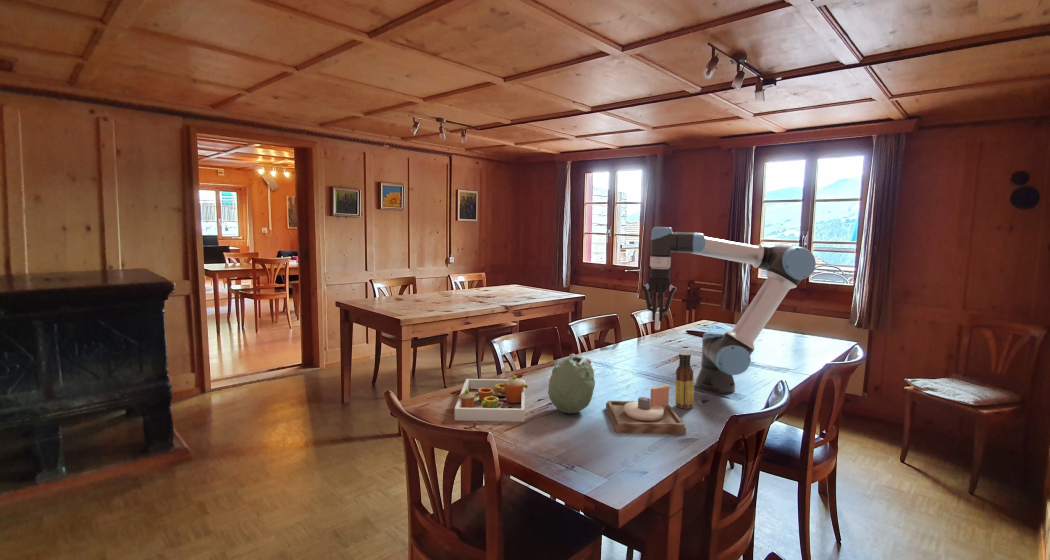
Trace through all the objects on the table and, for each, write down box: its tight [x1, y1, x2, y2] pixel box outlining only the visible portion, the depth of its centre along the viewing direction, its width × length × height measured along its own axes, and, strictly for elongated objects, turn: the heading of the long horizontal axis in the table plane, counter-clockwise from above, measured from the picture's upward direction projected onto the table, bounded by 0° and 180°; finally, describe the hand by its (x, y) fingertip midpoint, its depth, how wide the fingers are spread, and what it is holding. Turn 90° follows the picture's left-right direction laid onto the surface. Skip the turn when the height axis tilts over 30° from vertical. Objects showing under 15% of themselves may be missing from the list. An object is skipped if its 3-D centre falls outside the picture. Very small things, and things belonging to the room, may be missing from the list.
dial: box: [624, 385, 670, 421], centre depth 173 cm, size 18×13×8 cm
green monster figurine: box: [547, 353, 596, 414], centre depth 179 cm, size 16×19×20 cm
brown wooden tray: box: [605, 400, 687, 435], centre depth 173 cm, size 22×22×3 cm
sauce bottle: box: [675, 352, 695, 410], centre depth 186 cm, size 7×6×20 cm
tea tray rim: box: [454, 378, 526, 422], centre depth 187 cm, size 23×33×4 cm
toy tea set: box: [458, 375, 529, 408], centre depth 186 cm, size 26×16×10 cm, turn 138°
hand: (657, 329), depth 195 cm, fingers closed
